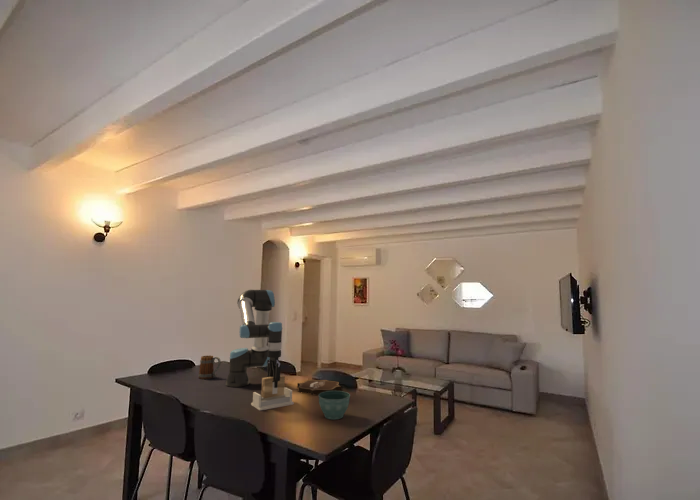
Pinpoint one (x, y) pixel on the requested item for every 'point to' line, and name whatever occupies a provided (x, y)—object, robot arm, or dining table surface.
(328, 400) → the flower pot
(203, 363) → the mug
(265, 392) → the door panel
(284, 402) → the track
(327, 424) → the dining table surface
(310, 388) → the decorative plaque
